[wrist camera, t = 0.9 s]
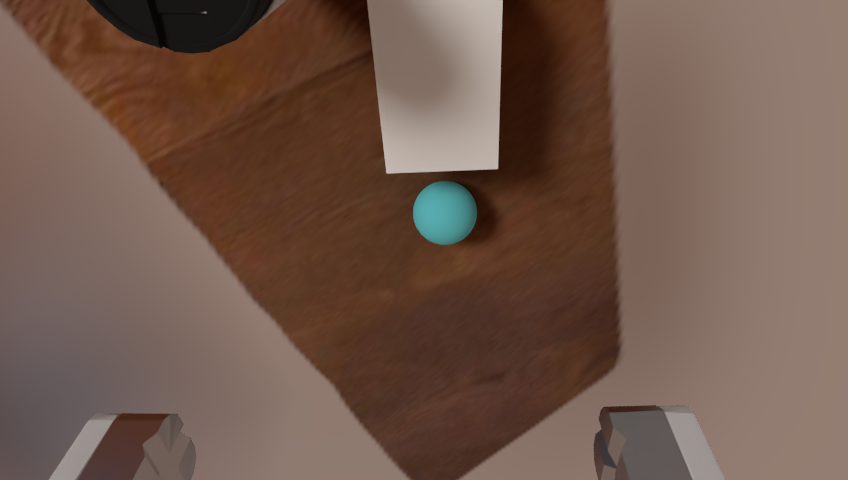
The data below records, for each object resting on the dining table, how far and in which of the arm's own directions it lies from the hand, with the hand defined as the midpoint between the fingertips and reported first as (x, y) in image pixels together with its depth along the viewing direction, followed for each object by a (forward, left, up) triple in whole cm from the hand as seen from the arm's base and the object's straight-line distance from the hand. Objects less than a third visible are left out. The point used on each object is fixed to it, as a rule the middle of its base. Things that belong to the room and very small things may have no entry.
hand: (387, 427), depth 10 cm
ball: (+13, +1, -28) cm, 31 cm away
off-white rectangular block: (+1, +1, -31) cm, 31 cm away
